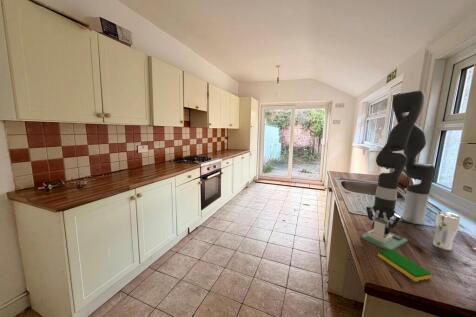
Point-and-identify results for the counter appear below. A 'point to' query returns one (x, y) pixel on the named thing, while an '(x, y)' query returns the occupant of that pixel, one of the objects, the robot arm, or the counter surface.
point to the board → (385, 240)
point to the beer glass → (445, 230)
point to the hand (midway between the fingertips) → (380, 231)
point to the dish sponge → (404, 265)
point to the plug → (379, 227)
